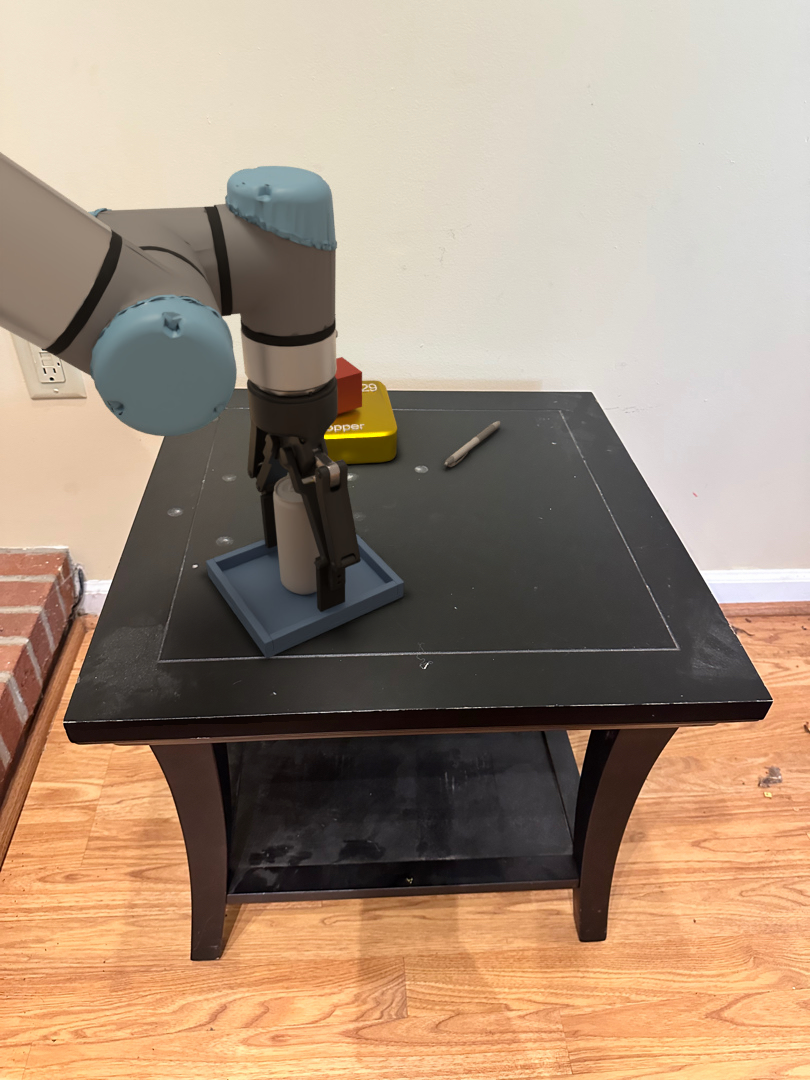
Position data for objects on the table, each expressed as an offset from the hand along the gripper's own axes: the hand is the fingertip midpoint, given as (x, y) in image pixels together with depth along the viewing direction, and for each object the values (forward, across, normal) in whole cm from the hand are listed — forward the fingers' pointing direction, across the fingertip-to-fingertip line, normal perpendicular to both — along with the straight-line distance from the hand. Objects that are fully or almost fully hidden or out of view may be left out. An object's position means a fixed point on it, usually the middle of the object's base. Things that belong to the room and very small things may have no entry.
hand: (303, 572), depth 75 cm
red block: (-3, +24, -18) cm, 30 cm away
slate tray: (+2, 0, 0) cm, 2 cm away
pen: (+2, +12, -32) cm, 34 cm away
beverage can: (+1, 0, 0) cm, 1 cm away
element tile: (+2, +24, -18) cm, 30 cm away
